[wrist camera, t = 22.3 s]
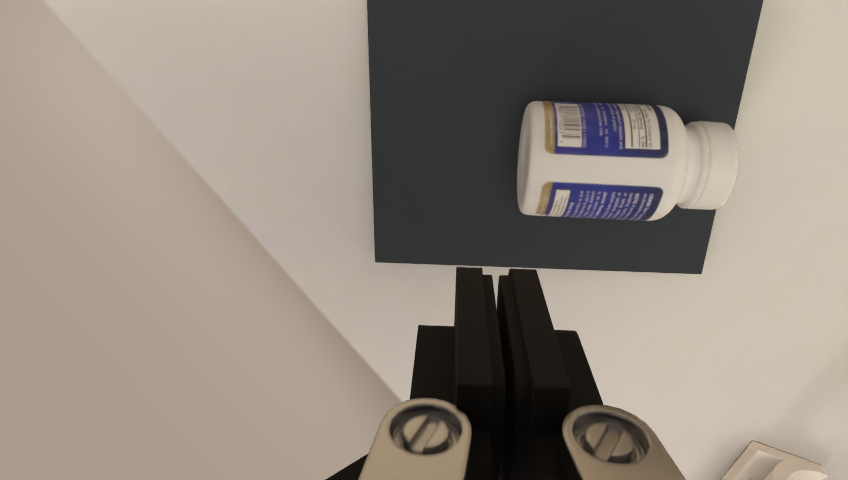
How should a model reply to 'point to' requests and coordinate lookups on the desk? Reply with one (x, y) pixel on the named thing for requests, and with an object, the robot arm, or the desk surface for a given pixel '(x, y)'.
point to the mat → (503, 114)
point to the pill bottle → (621, 161)
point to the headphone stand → (772, 466)
